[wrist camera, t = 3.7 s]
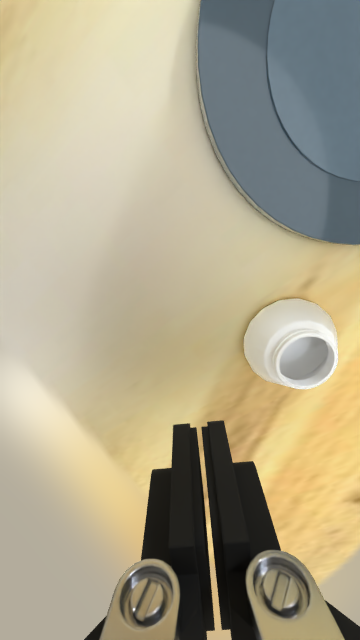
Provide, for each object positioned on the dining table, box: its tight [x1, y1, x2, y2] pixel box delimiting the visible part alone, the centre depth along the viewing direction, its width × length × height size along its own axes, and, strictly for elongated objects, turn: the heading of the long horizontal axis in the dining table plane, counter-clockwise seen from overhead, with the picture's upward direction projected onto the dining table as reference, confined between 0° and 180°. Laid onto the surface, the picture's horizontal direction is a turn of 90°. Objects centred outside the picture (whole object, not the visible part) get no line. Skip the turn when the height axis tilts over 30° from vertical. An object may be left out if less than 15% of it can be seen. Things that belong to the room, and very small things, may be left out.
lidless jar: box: [244, 298, 338, 389], centre depth 16 cm, size 5×3×5 cm
